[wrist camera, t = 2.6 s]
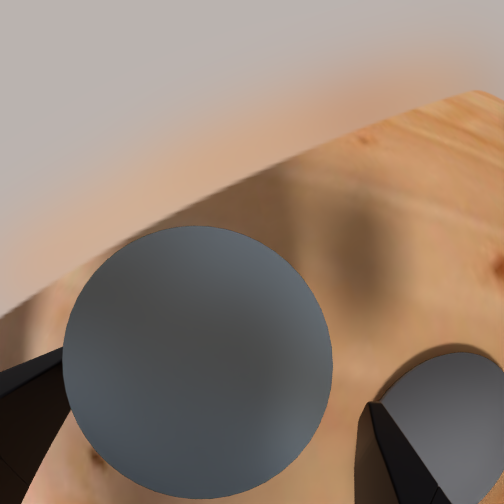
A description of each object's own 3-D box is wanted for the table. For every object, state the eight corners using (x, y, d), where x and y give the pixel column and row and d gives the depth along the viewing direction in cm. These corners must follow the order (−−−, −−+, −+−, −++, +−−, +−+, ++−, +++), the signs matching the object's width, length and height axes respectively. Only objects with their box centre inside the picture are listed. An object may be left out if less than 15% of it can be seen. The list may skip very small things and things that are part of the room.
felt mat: (441, 545, 10) (445, 548, 9) (311, 483, 13) (312, 487, 13) (533, 400, 13) (538, 400, 12) (429, 317, 16) (433, 315, 16)
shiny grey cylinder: (288, 430, 15) (301, 522, 4) (190, 411, 16) (47, 439, 5) (305, 334, 17) (345, 242, 6) (208, 319, 18) (102, 215, 7)
